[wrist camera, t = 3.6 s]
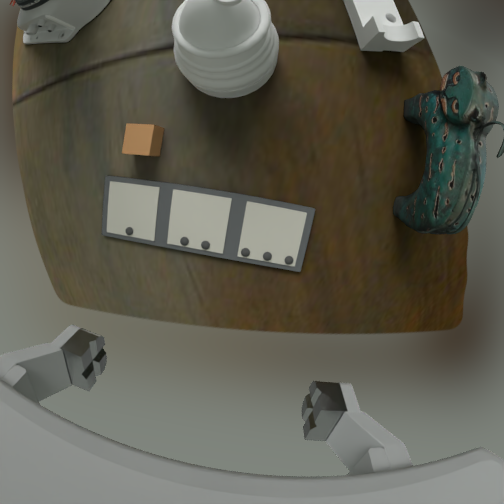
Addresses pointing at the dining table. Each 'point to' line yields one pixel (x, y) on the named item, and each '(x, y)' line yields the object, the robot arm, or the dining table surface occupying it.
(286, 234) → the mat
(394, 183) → the dining table surface
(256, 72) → the honey pot
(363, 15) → the bracket
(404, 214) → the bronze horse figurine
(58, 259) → the dining table surface
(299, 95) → the dining table surface
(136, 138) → the block
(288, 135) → the dining table surface
